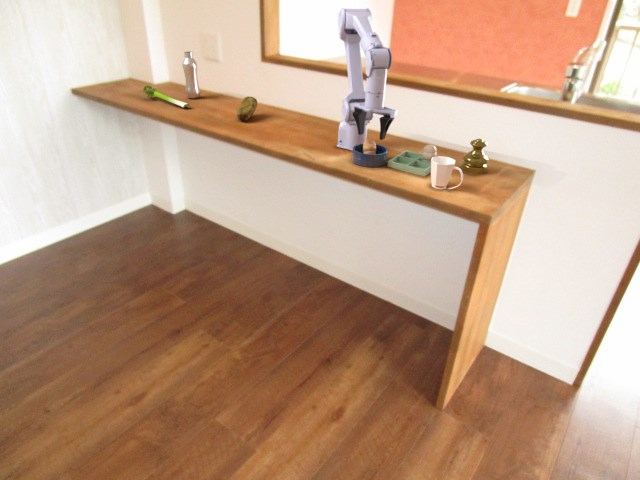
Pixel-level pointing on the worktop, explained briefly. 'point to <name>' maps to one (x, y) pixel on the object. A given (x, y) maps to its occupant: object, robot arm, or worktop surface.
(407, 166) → the tray
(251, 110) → the potato
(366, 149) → the brown egg
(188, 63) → the plastic bottle
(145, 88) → the leek
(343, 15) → the robot arm
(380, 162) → the bowl
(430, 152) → the cream egg
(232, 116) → the worktop surface
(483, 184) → the worktop surface
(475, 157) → the gold decorative ornament
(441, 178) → the cup
